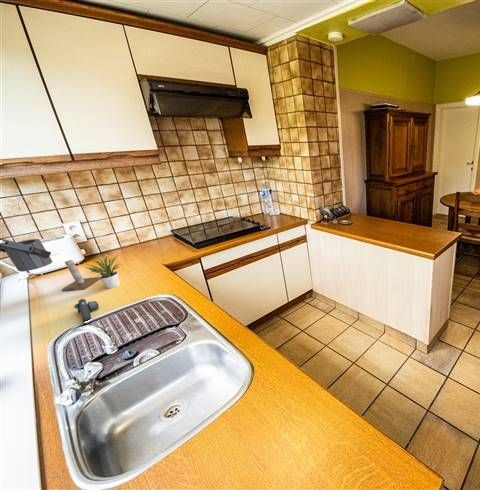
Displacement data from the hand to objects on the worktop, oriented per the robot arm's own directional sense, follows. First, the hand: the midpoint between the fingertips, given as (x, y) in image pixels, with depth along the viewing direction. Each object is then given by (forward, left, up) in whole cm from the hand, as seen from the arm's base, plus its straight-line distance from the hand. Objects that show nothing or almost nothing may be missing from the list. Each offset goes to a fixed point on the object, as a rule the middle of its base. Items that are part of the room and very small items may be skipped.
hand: (39, 254), depth 119 cm
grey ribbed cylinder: (-1, -3, -4) cm, 5 cm away
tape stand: (+1, +9, -22) cm, 24 cm away
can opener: (+26, -21, -22) cm, 40 cm away
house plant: (+19, +6, -22) cm, 30 cm away
